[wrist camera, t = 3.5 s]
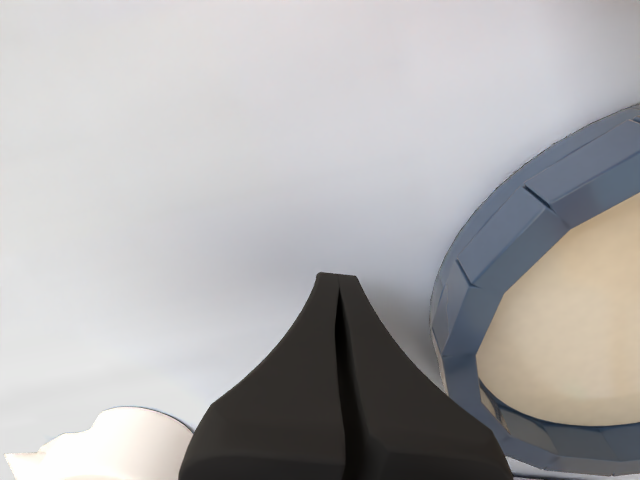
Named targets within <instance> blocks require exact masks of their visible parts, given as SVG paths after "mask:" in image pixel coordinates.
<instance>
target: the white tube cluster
mask: <svg viewBox="0 0 640 480" xmlns="http://www.w3.org/2000/svg"><path fill="white" fill-rule="evenodd" d="M192 436H193V433H192V432H191V431H190V430H189V429H188V428H187V427H186V426H185V425H183V424H182V423H180V422H179V421H177V420H175V419H174V418H172V417H170V416H167V415H165V414H163V413H160V412H157V411H153V410H149V409H144V408H137V407H118V408H112V409H108V410H105V411H103V412H101V413H100V414H99V416H98V418H97V419H96V421H95V422H94V424H93V426H92V427H91V429H89V430H86V431H82V432H77V433H63V434H62V435H60V436H58V437H56V438H55V439H53V440H51V441H50V442H48V443H46V444H44V445H43V446H42V447H41V448H40V449H39V451H38V452H37V453H12V454H4V456H5V458H6V460H7V462H8V464H9V466H10V468H11V470H12V472H13V475H14V477H15V479H16V480H178V475H179V470H180V467H181V464H182V461H183V458H184V456H185V453H186V450H187V447H188V445H189V443H190V441H191V438H192Z"/></svg>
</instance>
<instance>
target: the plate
mask: <svg viewBox="0 0 640 480" xmlns="http://www.w3.org/2000/svg"><path fill="white" fill-rule="evenodd" d="M429 322H430V332H431V339H432V342H433V345H434V349H435V352H436V355H437V359H438V365H439V370H440V375H441V379H442V383H443V386H444V389H445V392H446V395H447V396H448V397H449V398H451V399H452V400H453V401H454V402H455V403H457V404H458V405H459V406H460V407H461V408H463V409H464V410H465V411H467V412H468V413H469V414H471V415H472V416H473V417H475V418H476V419H477V420H479V421H480V422H481V423H483V424H484V425H485V426H487V427H488V428H490V429H491V430H492V431H493V433H494V436H495V438H496V439H497V441H498V443H499V445H500V447H501V449H502V451H503V453H504V455H506V456H508V457H511V458H514V459H516V460H519V461H521V462H524V463H526V464H529V465H531V466H534V467H537V468H539V469H544V470H547V471H558V472H568V473H579V474H590V475H600V476H611V475H613V476H620V475H629V474H638V473H640V104H638V105H635V106H632V107H629V108H626V109H624V110H621V111H619V112H617V113H614V114H612V115H610V116H608V117H605V118H603V119H601V120H598V121H596V122H594V123H592V124H589V125H588V126H586V127H584V128H582V129H580V130H579V131H577V132H575V133H573V134H571V135H570V136H568V137H566V138H564V139H562V140H561V141H559V142H557V143H555V144H554V145H552V146H551V147H549V148H548V149H547V150H545V151H544V152H542V153H541V154H539V155H538V156H536V157H535V158H534V159H532V160H531V161H529V162H528V163H526V164H525V165H524V166H522V167H521V168H520V169H519V170H518V171H517V172H515V173H514V174H513V175H512V176H511V177H510V178H508V179H507V180H506V181H505V182H504V183H502V184H501V185H500V186H499V187H498V188H497V189H496V190H495V191H494V192H493V193H492V194H491V195H490V196H489V197H488V198H487V199H486V200H485V202H484V203H483V204H482V205H481V206H480V207H479V208H478V209H477V210H476V211H475V212H474V214H473V215H472V216H471V218H470V219H469V220H468V222H467V223H466V224H465V226H464V227H463V228H462V230H461V231H460V232H459V233H458V235H457V237H456V239H455V240H454V242H453V244H452V245H451V247H450V249H449V251H448V252H447V254H446V256H445V258H444V260H443V263H442V265H441V268H440V270H439V272H438V275H437V277H436V281H435V285H434V289H433V293H432V297H431V303H430V315H429Z"/></svg>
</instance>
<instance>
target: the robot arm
mask: <svg viewBox="0 0 640 480" xmlns="http://www.w3.org/2000/svg"><path fill="white" fill-rule="evenodd" d="M178 480H542V479H531V478H520V477H513V475H512V472H511V470H510V467H509V465H508V462H507V460H506V458H505V455H504V453H503V451H502V449H501V447H500V445H499V443H498V441H497V439H496V438H495V436H494V433H493V431H492V430H491V429H490V428H488V427H487V426H485V425H484V424H483V423H481V422H480V421H479V420H477V419H476V418H475V417H473V416H472V415H471V414H469V413H468V412H467V411H465V410H464V409H463V408H461V407H460V406H459V405H458V404H457V403H455V402H454V401H453V400H452V399H451V398H449V397H448V396H447V395H446V394H445V393H444V392H442V391H441V390H440V389H439V388H438V387H437V386H436V385H435V384H434V383H433V382H432V381H431V380H430V379H429V378H428V377H427V376H426V375H425V374H423V373H422V372H421V371H420V370H419V369H418V368H417V367H416V365H415V364H414V363H413V362H412V361H411V360H410V359H409V358H408V357H407V355H406V354H405V353H404V352H403V351H402V349H401V348H400V347H399V346H398V344H397V343H396V342H395V340H394V339H393V338H392V336H391V335H390V334H389V332H388V331H387V329H386V328H385V326H384V325H383V323H382V322H381V320H380V319H379V317H378V316H377V314H376V312H375V311H374V309H373V307H372V306H371V304H370V302H369V300H368V298H367V297H366V295H365V293H364V291H363V289H362V287H361V285H360V283H359V280H358V278H357V277H356V276H352V275H342V274H333V273H323V272H320V273H318V274H317V276H316V281H315V284H314V287H313V290H312V292H311V294H310V296H309V298H308V300H307V302H306V304H305V306H304V307H303V309H302V311H301V312H300V314H299V316H298V317H297V319H296V320H295V322H294V323H293V325H292V326H291V328H290V329H289V330H288V332H287V333H286V334H285V336H284V337H283V338H282V340H281V341H280V342H279V343H278V344H277V346H276V347H275V348H274V349H273V350H272V351H271V352H270V353H269V355H268V356H267V357H266V358H265V359H264V360H263V361H262V362H261V363H260V364H259V365H258V366H257V367H256V368H255V369H254V370H252V371H251V372H250V373H249V374H248V375H247V376H246V377H245V378H244V379H243V380H242V381H240V382H239V383H238V384H237V385H236V386H234V387H233V388H232V389H231V390H229V391H228V392H227V393H225V394H224V395H223V396H221V397H220V398H219V399H218V400H216V401H215V402H214V403H212V404H211V405H210V407H209V409H208V410H207V412H206V413H205V415H204V416H203V418H202V420H201V421H200V423H199V425H198V427H197V428H196V430H195V432H194V434H193V436H192V438H191V441H190V443H189V445H188V447H187V450H186V453H185V456H184V458H183V461H182V464H181V467H180V470H179V475H178Z"/></svg>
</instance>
